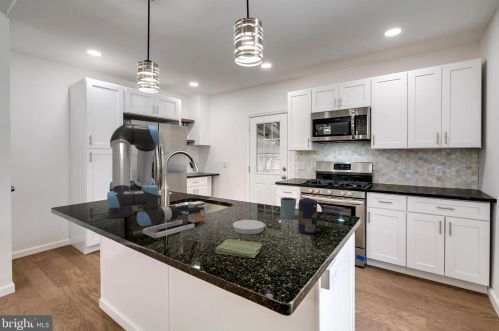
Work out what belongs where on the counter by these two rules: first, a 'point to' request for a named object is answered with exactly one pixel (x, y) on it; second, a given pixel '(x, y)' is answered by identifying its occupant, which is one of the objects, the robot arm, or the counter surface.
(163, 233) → the guide channel
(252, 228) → the lid
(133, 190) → the robot arm
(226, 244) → the washcloth
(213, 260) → the counter surface
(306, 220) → the canister
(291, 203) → the drinking glass
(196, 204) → the small box
